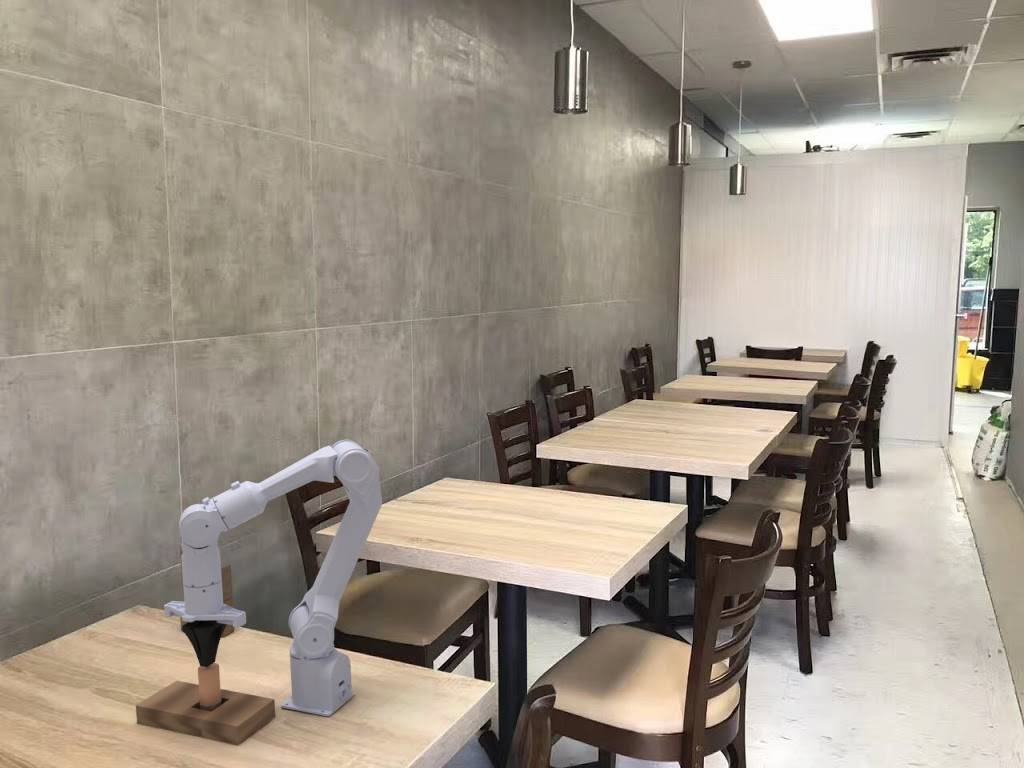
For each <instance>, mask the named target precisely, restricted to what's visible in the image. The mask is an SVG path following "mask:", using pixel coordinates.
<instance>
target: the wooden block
mask: <svg viewBox="0 0 1024 768" xmlns="http://www.w3.org/2000/svg"><path fill="white" fill-rule="evenodd" d="M179 550H180V551H179V552H180V554H179V555H180V567H181V571H182V558H181V556H182V554H183V552H182V548H181V544H180V546H179ZM221 577H222V592H223V604H226V605H228V606H230V607H232V608H234V598H233V596H234V593H233V580H232V564H231V563H229V564H227V565H225V566H223V567H222V566H221ZM181 582H182V586H183V574H182V573H181ZM182 596H183V599H182V600H183V601H184V588H183V587H182ZM179 618H180V629H181V631H182V626H183V625H184V624H186V623H187V622H186V621H182V617H179ZM233 632H235V627H233V625H229V624H227V625H226V627H225V629H224V631H223V634H222V636H221V638H225V637H227V636H229V634H231V633H233Z"/></svg>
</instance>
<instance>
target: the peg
mask: <svg viewBox="0 0 1024 768" xmlns="http://www.w3.org/2000/svg"><path fill="white" fill-rule="evenodd" d="M220 677H221V676H220V665H219V663H216V662H215V663H213V664H211V665H210V666H208V667H203V666H200V665H199V666H198V668H197V678H198V679H197V680H198V685H199V697H200V709H202V710H207V711H213V710H215V709H216V708H218V707H219V706H221V701H222V700H221V689H222V688H221V678H220Z"/></svg>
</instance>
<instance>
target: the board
mask: <svg viewBox="0 0 1024 768" xmlns="http://www.w3.org/2000/svg"><path fill="white" fill-rule="evenodd" d="M220 689H221V700H222V701H221V706H219V707H218V708H216V709H215V710H213V711H207V710H202V709H200V697H199V684H196V683H193V682H192V683H191V682H186V681H181V680H175V681H174V682H172V683H170V684H168V685H167V686H165V687H164V688H163V689H160V690H159V691H157V692H156V693H154V694H152V695H151V696H148V698H146V699H144V700H143V701H140V702H139V703H137V704H136V705H135V713H136V715H135V716H136V724H139V725H142V726H143V725H144V726H150V727H153V728H158V729H162V730H167V731H172V732H175V733H182V734H185V735H190V736H194V737H198V738H202V739H203V738H204V739H208V740H213V741H218V742H222V743H227V744H232V745H235V746H239V745H241V744H242V743H244V742H245V741H246V740H247V739H249V738H250V737H251V736H252V735H254V734H255V733H256V732H257V731H259V730H260V729H262V728H263V727H265V725H266V724H269V722H270V721H272V720H274V718H276V705H275V704H276V701H275V698H270V697H267V696H266V697H265V696H260V695H257V694H256V695H255V694H249V693H245V692H244V693H243V692H240V691H233V690H229V689H222V688H220Z"/></svg>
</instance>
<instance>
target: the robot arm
mask: <svg viewBox="0 0 1024 768" xmlns="http://www.w3.org/2000/svg"><path fill="white" fill-rule="evenodd" d="M335 476H336V477H337V478H338V480H339V481H340V482H341V483H342V487H343V488H344V491H345V493H346V495H347V497H348V500H349V503H348V505H347V508H346V510H345V513H344V514H343V517H342V519H341V521H340V523H339V525H338V528H337V531H336V532H335V535H334V537H333V539H332V542H331V545H330V547H329V549H328V551H327V552H326V555H325V558H324V560H323V562H322V564H321V566H320V568H319V571H318V574H317V575H316V578H315V580H314V583H313V584H312V587H311V588H310V589H309V590H308V591H307V592H306V593H304V596H303V598H302V601H301V602H300V603H299V604H298V605H296V607H295V608H293V609H292V611H291V612H290V615H289V617H288V622H287V623H288V628H289V631H290V633H292V637H293V642H292V644H291V646H290V647H289V663H290V666H289V667H290V683H291V684H290V687H291V696H290V697H288V699H286V700H285V701H284V702H282V703H281V704H280V707H281V708H283V709H288V710H293V711H298V712H303V713H308V714H309V713H310V714H313V715H318V716H324V717H330V716H331V715H332V714H334V713H335V712H336V711H337V710H339V709H340V707H342V706H343V705H344V704H345V703H347V702H348V701H349V700H350V699H352V698H353V696H355V692H354V691H353V689H352V665H351V660H350V657H349V656H348V655H347V654H345V653H342V652H341V651H339V650H338V649H336V647H335V644H334V642H335V641H334V640H335V626H336V624H337V621H338V618H339V608H340V601H341V599H342V597H343V594H344V592H345V590H346V588H347V585H348V584H349V581H350V578H351V576H352V574H353V572H354V570H355V567H356V565H357V563H358V561H359V558H360V556H361V553H362V551H363V549H364V547H365V545H366V542H367V540H368V537H369V535H370V533H371V531H372V528H373V526H374V524H375V521H376V519H377V517H378V515H379V512H380V510H381V508H382V505H383V497H382V490H381V484H380V468H379V466H378V465H377V463H376V461H375V459H374V457H373V456H372V455H371V454H370V452H369V451H367V450H365V449H363V447H362V446H361V445H360V444H359V443H358V442H356V441H355V440H351V439H342V440H339V441H336V442H335V443H334V444H332V445H327V446H324V447H321V448H319V449H318V450H317V451H314V452H312V453H311V454H309V455H307V456H305V457H303V458H302V459H300V460H298V461H297V462H295V463H293V464H291V465H289V466H287V467H286V468H284V469H282V470H280V471H278V472H277V473H275V474H273V475H271V476H270V477H267V478H266V479H264V480H262V481H261V482H253V481H249V480H246V481H243V482H241V483H240V481H239V480H237V481H235V482H233V483H230V486H231V488H229V489H227V490H226V491H224V492H222V493H219V494H218V495H215V496H213V497H212V498H210V497H204V498H203V499H202V500H201V501H202V503H201V504H200V503H195V504H192V505H190V506H188V507H187V508H185V509H184V510H183V512H182V513H181V515H180V516H179V517H180V518H179V522H178V526H179V529H178V530H179V531H178V532H179V536H180V538H181V540H182V542H181V544H180V545H181V548H182V552H183V554H182V556H181V555H180V559H181V558H182V570H181V575H182V574H183V585H182V589H183V588H184V600H183V601H178V600H177V601H176V600H172V601H170V602H167V603H166V604H164V605H163V609H164V617H166V618H171V617H179V618H180V617H182V621H186V622H187V623H186V624H184V625H183V626H182V630H181V632H183V634H184V635H185V636H186V637H187V639H188V640H189V642H190V643H191V646H192V647H193V650H194V653H195V655H196V658H197V661H198V664H199V667H200V666H203V667H208V666H210V665H211V664H213V663H216V660H217V654H218V650H219V649H218V648H219V646H220V643H221V642H220V641H221V639H222V637H221V636H222V634H223V631H224V629H225V627H226V625H227V624H229V625H233V627H234V628H236V629H239V628H241V627H242V626H244V625H245V624H247V613H246V611H243V610H240V609H237V608H234V607H233V608H232V607H230V606H228V605H226V604H223V592H222V577H221V568H222V563H221V551H220V548H219V544H218V539H219V536H220V534H221V533H224V532H228V531H230V530H232V529H234V528H235V527H238V526H240V525H241V524H243V523H246V522H247V521H249V520H251V519H253V518H255V517H257V516H259V515H262V514H263V513H264V511H265V510H266V509H265V508H266V505H267V504H268V502H270V501H272V500H274V499H276V498H278V497H281V496H283V495H285V494H287V493H289V492H291V491H293V490H295V489H298V488H300V487H303V486H305V485H306V484H308V483H311V482H314V481H316V482H324V483H332V484H334V483H335V478H334V477H335Z"/></svg>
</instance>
